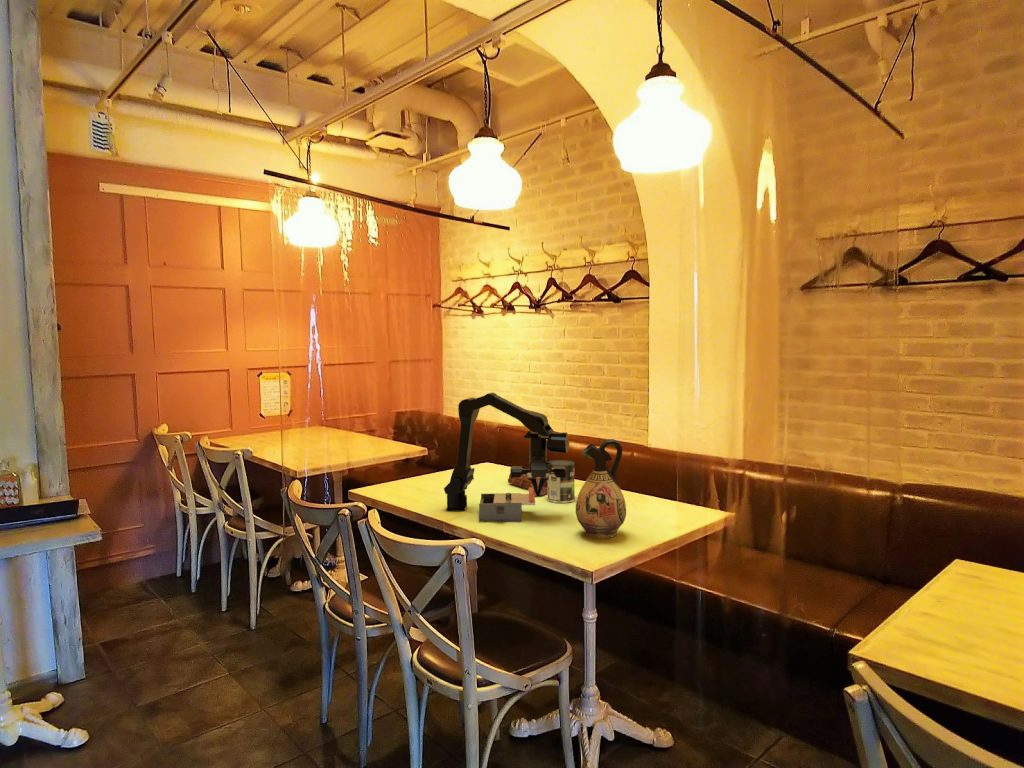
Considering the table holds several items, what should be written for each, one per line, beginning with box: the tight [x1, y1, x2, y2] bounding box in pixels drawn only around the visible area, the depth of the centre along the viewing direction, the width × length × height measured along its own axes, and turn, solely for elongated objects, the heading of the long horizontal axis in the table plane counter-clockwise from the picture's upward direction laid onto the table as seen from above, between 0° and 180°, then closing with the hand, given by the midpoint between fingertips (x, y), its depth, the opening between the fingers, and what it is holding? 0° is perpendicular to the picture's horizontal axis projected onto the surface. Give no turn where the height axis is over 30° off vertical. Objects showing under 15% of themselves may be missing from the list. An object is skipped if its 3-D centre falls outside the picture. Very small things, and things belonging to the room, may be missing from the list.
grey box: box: [478, 492, 523, 523], centre depth 218 cm, size 14×19×6 cm
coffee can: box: [547, 459, 576, 504], centre depth 239 cm, size 10×10×14 cm
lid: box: [494, 487, 536, 506], centre depth 218 cm, size 14×12×3 cm
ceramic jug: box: [575, 438, 627, 540], centre depth 196 cm, size 17×15×30 cm
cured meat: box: [507, 473, 548, 497], centre depth 256 cm, size 18×25×7 cm
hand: (537, 496), depth 218 cm, fingers closed
